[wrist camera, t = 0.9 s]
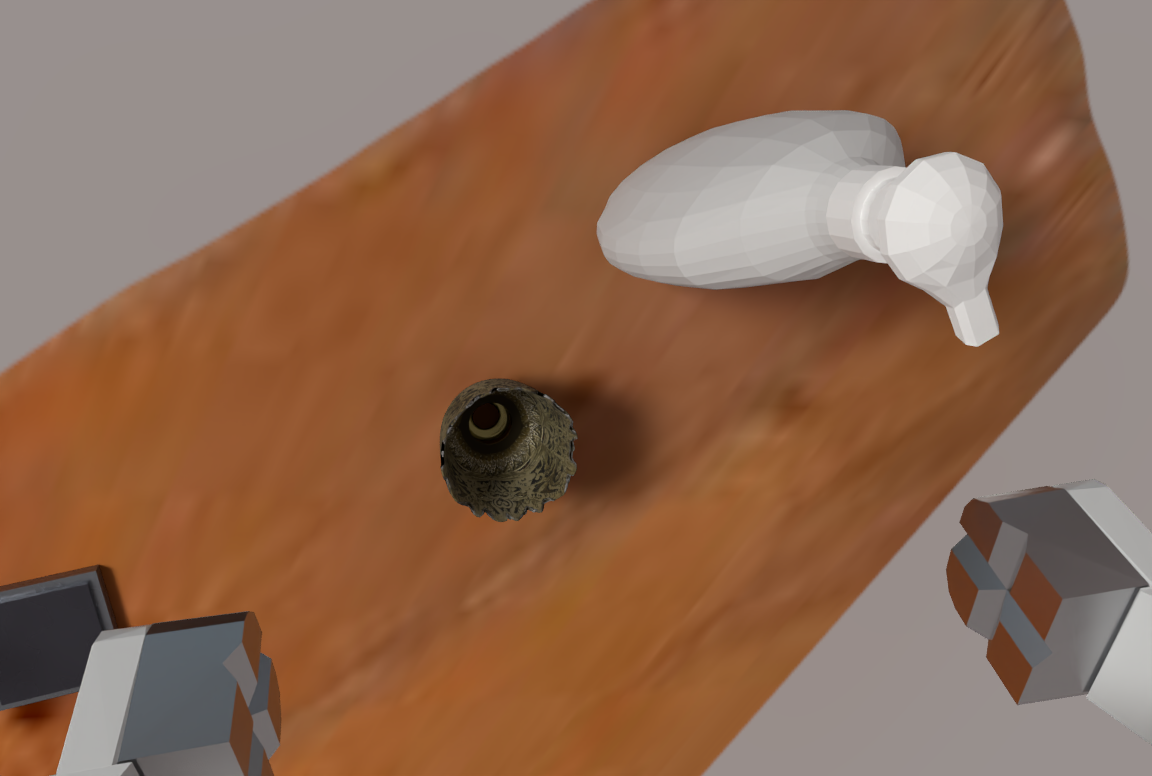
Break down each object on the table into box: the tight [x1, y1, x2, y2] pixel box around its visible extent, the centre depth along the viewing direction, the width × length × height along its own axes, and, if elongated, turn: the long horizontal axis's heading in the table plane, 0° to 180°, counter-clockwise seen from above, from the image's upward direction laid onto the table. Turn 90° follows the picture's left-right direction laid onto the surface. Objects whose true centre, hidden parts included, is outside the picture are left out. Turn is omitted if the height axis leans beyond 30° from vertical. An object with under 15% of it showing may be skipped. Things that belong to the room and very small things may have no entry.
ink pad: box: [0, 565, 118, 711], centre depth 53 cm, size 7×7×1 cm
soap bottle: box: [597, 110, 1003, 347], centre depth 45 cm, size 14×8×27 cm, turn 117°
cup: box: [440, 379, 578, 522], centre depth 54 cm, size 8×7×8 cm
